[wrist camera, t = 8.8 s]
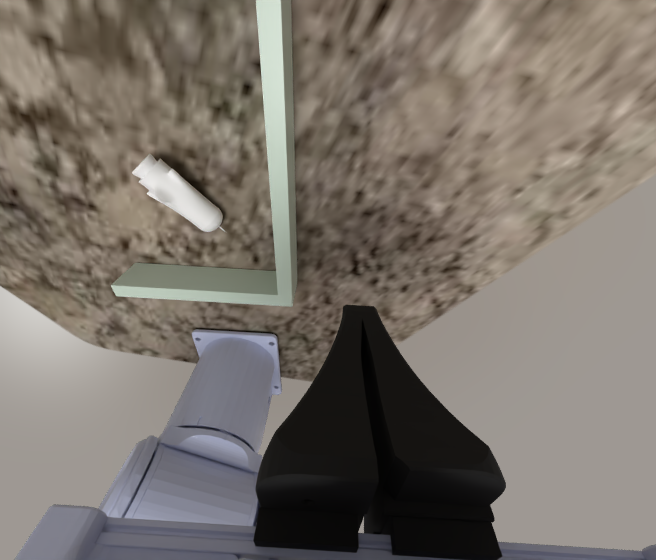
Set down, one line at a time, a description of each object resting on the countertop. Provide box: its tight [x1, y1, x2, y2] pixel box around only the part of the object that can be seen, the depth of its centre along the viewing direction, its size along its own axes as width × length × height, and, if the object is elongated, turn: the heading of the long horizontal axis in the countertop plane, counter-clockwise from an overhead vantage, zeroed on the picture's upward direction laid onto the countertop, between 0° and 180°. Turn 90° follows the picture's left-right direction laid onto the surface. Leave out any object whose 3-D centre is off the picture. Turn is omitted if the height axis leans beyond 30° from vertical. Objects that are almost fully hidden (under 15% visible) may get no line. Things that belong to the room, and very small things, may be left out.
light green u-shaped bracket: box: [111, 0, 297, 307], centre depth 17 cm, size 18×13×3 cm
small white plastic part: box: [132, 154, 224, 232], centre depth 18 cm, size 4×6×3 cm, turn 11°
